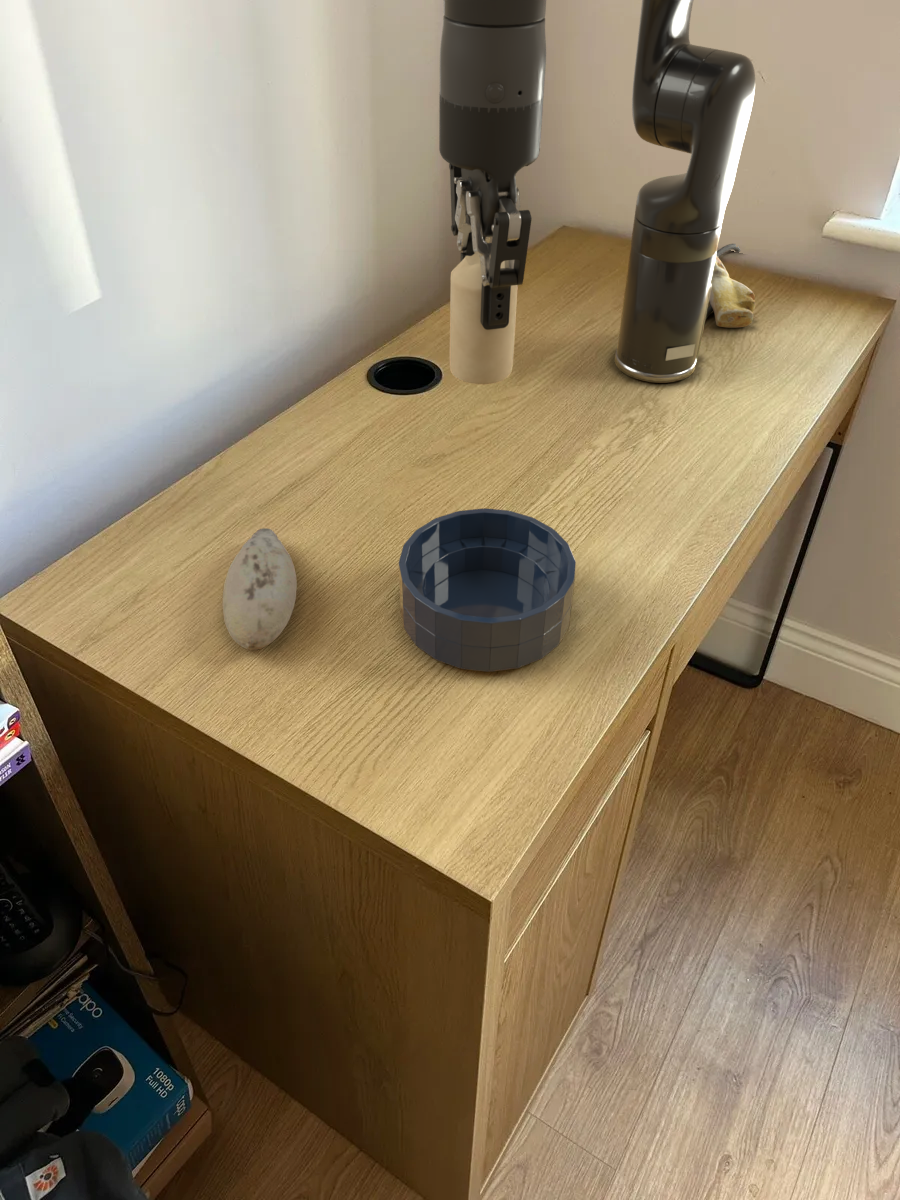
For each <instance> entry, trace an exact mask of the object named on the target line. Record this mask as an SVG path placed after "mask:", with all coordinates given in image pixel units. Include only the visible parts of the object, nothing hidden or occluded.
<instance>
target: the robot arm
mask: <svg viewBox="0 0 900 1200" xmlns="http://www.w3.org/2000/svg"><path fill="white" fill-rule="evenodd" d="M693 4H694V0H641V7H640V17H639V27H638V36H637V44H636V52H635V53H636V54H635V63H634V70H633V71H634V74H633V81H632V98H631V112H632V121H633V125H634V130H635V132H636V133H637V135H638V137H639V138H640V139H641V140H642V141H645V142H646V143H649V144H652V145H655V146H659V147H663V148H666V149H669V150H670V149H671V150H675V151H678V152H682V153H687V154H690V158H689V159H690V160H689V163H688V167H687V170H686V173H682V174H674V175H668V176H662V177H658V178H655V179H653V180H650V181H648V182H646V183H644V184H643V185H642V186H641V187H640V188H639V190H638V192H637V196H636V203H635V209H634V219H633V225H632V232H631V240H630V249H629V257H628V262H627V263H628V264H627V272H626V280H625V286H624V294H623V301H622V302H623V303H622V309H621V316H620V324H619V331H618V339H617V347H616V349H615V353H614V354H615V355H614V363H615V365H616V368H618V369H619V371H620V372H622V373H623V374H624V375H626V376H628V377H630V378H633V379H635V380H639V381H643V382H647V383H648V382H649V383H657V384H658V383H659V384H666V383H674V382H679V381H682V380H684V379H687V378H689V377H690V376H691V375H692V374H693V373H694V372H695V371H696V366H697V360H698V359H699V355H700V349H701V344H702V339H703V333H704V329H705V325H706V324H705V323H706V320H707V319H708V317H709V316H710V315H711V314H712V313H714V311H713V308H712V306H711V304H710V302H709V298H710V293H711V288H712V284H711V279H712V273H713V268H714V263H715V258H716V256H717V257H718V258H719V257H721V256H722V255H724V253H726V252H728V251H730V250H731V251H732V250H734V252H736V253H740V252H741V251H742V250H741V247H740V246H739V245H738V247H736V243H729V244H726V245H724V246H722V247H721V248H719V249H718V246H719V242H720V236H721V231H722V226H723V221H724V217H725V211H726V208H727V204H728V202H729V199H730V196H731V193H732V190H733V187H734V183H735V180H736V174H737V169H738V165H739V161H740V157H741V153H742V149H743V145H744V141H745V137H746V133H747V129H748V126H749V121H750V117H751V114H752V113H751V112H752V109H753V106H754V105H753V104H754V98H755V90H756V72H755V67H754V64H753V62H752V61H751V59H750V58H749V57H747V56H746V55H744V54H741V53H737V52H733V51H728V50H724V49H723V50H722V49H717V48H712V47H708V46H707V47H706V46H701V45H696V44H691V42H690V24H691V17H692V10H693ZM442 12H443V13H442V14H443V17H442V18H443V19H442V31H441V38H440V47H439V94H438V95H439V96H438V97H439V98H438V99H439V101H438V102H439V104H438V105H439V108H438V109H439V110H438V111H439V114H438V115H439V117H438V119H439V120H438V121H439V122H438V123H439V125H438V126H439V131H438V135H439V137H438V140H439V141H438V150H439V154H440V156H441V158H442V159H443V160H444V161H445V162H446V163H448V169H449V182H450V183H449V184H450V186H449V187H450V213H451V216H450V217H451V225H450V231H451V232H452V235H453V236H454V237H456V236H457V238H456V239H457V240H456V247H457V249H458V251H459V252H460V262H461V261H462V260H463V259H464V258H465V257H466V256H472V255H473V254H477V255H479V257H480V264H481V281H482V291H481V320H480V322H481V324H482V326H483V327H484V329H486V330H491V329H500V328H505V327H506V326H507V325H508V324H509V312H510V294H511V286H513V285H518V286H523V283H524V278H525V270H526V263H527V258H528V257H527V256H528V248H529V241H530V233H531V227H532V218H533V217H532V215H531V211H530V210H529V209H523V210H522V209H521V194H520V190H519V187H517V179H516V176H517V173H518V172H520V170H521V169H523V168H524V167H528V166H530V165H532V164H533V163H535V161H537V159H538V158H539V157H540V151H541V139H542V126H543V125H542V123H543V112H544V111H543V110H544V97H545V96H544V94H545V84H546V83H545V81H546V80H545V79H546V65H547V40H546V12H547V0H443V11H442ZM520 209H521V210H520ZM490 255H491V256H490ZM503 261H504V264H505V268H500V267H501V263H502V262H503Z"/></svg>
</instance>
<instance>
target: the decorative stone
mask: <svg viewBox="0 0 900 1200" xmlns="http://www.w3.org/2000/svg"><path fill="white" fill-rule="evenodd" d="M297 581H298V580H297V573H296V568H295V565H294V562H293V559H292V557H291V554H290V553H289V552H288V550H287V549H286V547H285V545H284V544H283V543H282V541H281V540H280V539H279V537H278V534H276V533H275V532H274V530H272V529H271V528H266V527H265V528H264V527H263V528H259V529H257V530H256V532H253V534H252V535H251V537H250V538H248V540H246V541H245V543H244V544H243V545H242V547H241V548H240V550H239V551H238V552H237V554H236V555H235V557H234V558H233V559H232V562H231V564H230V566H229V568H228V569H227V573H226V576H225V580H224V583H223V591H222V614H223V620H224V624H225V627H226V629H227V632H228V635H230V637H231V639H232V640H233V641H234V642H235V643H236V644H237V645H238V646H240V647H241V648H243V649H246V650H248V651H257V650H260V649H263V648H265V647H267V646H269V645H270V644H272V643H274V641H275V640H276V639H277V638H278V637H279V636H280V635H281V634H282V632H283V631H284V629H285V628H286V626H287V625H288V623H289V621H290V619H291V617H292V614H293V612H294V608H295V604H296V599H297V588H298V587H297V586H298V582H297Z"/></svg>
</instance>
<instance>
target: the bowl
mask: <svg viewBox="0 0 900 1200" xmlns="http://www.w3.org/2000/svg"><path fill="white" fill-rule="evenodd" d="M398 559H399V560H398V578H399V579H398V582H399V607H400V616H401V621H402V625H403V626H402V627H403V629H404V631H405V633H406V634H407V635H408V637H409V638H410V639H411V641H412V642H413V644H414V645H415V646H416V647H417V648H418V649H420V650H421V651H422V652H424V653H426V654H427V655H428V656H430V657H431V658H432V659H434V660H436V661H438V662H441V663H443V664H447V665H448V666H452V667H455V668H457V669H460V670H468V671H479V672H486V673H488V672H490V673H492V672H499V671H507V670H514V669H521V668H522V667H524V666H528V665H529V664H532V663H535V662H537V661H540V660H542V659H543V658H544V657H546V656H547V655H548V654H549V653H551V652H552V651H553V650H554V649H556V648H557V647H559V645H560V644H561V642H562V640H563V639H564V636H565V635H566V633H567V631H568V629H569V627H570V622H571V621H570V620H571V612H572V604H573V598H574V597H573V595H574V587H575V579H576V568H577V567H576V566H577V562H576V559H575V556H574V554H573V551H572V549H571V547H570V545H569V543H568V542H567V541H566V540H565V539H564V538H563V537H562V536H561V535H560V533H559V532H558V531H556V530H555V529H554V528H553V527H551V526H549V525H547V524H546V523H544V522H542V521H540V520H539V519H537V518H535V517H533V516H529V515H526V514H522V513H519V512H515V511H513V510H508V509H497V508H496V509H495V508H485V507H484V508H483V507H482V508H475V509H465V510H456V511H453V512H450V513H448V514H445V515H440V516H438V517H434V518H433V519H432V520H429V521H428V522H426V523H425V524H423V525H421V526H420V527H418V528H417V529H416V530H415V531H414V532H413V533H412V534H411V535H410V537H408V539H407V540H406V541H405V542H404V544H403V545H402V549H401V552H400V556H399V558H398Z"/></svg>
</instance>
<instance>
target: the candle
mask: <svg viewBox="0 0 900 1200" xmlns="http://www.w3.org/2000/svg"><path fill="white" fill-rule="evenodd" d="M490 256H491V255H490ZM500 268H505V264H504V261H503V262H502V263H501V267H500ZM518 288H519V285H513V286H511V294H510V312H509V324H508V325H507V326H506V327H505V328H500V329H491V330H486V329H484V327H483V326H482V324H481V322H480V320H481V291H482V281H481V264H480V257H479V255H477V254H473V255H472V256H466V257H465V258H464V259H463V260H462V261H461V260H460V262H459V263H458V264H457V265H456V266H455V267H454V268H453V269H452V271H451V272H450V296H449V297H450V300H449V301H450V303H449V304H450V307H449V311H450V312H449V369H450V372H451V373H450V374H452V376H453V377H454V378H456V379H458V380H459V381H462V382H464V383H468V384H473V385H491V384H497V383H500V382H503V381H505V380H506V379H508V378H509V377H510V376H511V374H512V371H513V369H514V368H513V367H514V354H515V337H516V336H515V335H516V320H517V304H518V290H519V289H518Z"/></svg>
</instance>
